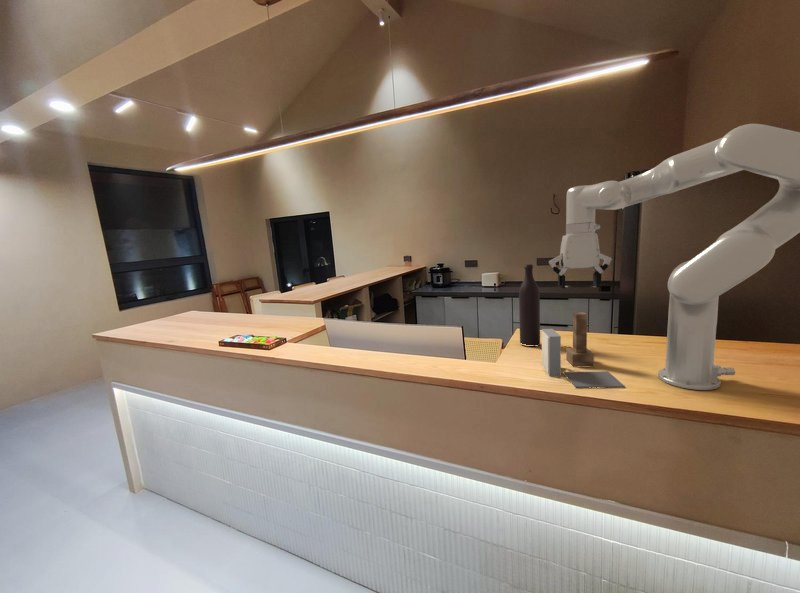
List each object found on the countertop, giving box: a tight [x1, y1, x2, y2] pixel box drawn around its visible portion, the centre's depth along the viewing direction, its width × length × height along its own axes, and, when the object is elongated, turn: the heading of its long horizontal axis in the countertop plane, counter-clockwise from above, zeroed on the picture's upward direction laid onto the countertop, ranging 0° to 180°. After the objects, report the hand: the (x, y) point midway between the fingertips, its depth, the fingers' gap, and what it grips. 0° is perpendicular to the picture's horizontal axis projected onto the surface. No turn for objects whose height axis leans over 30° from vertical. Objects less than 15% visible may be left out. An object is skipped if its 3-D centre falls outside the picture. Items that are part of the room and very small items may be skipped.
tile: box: [541, 328, 562, 377], centre depth 102 cm, size 3×8×12 cm, turn 171°
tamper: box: [565, 311, 595, 368], centre depth 106 cm, size 6×6×16 cm
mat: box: [563, 370, 626, 389], centre depth 95 cm, size 12×10×1 cm
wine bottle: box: [518, 263, 541, 346], centre depth 126 cm, size 7×7×30 cm
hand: (579, 287), depth 104 cm, fingers open, 9 cm apart
